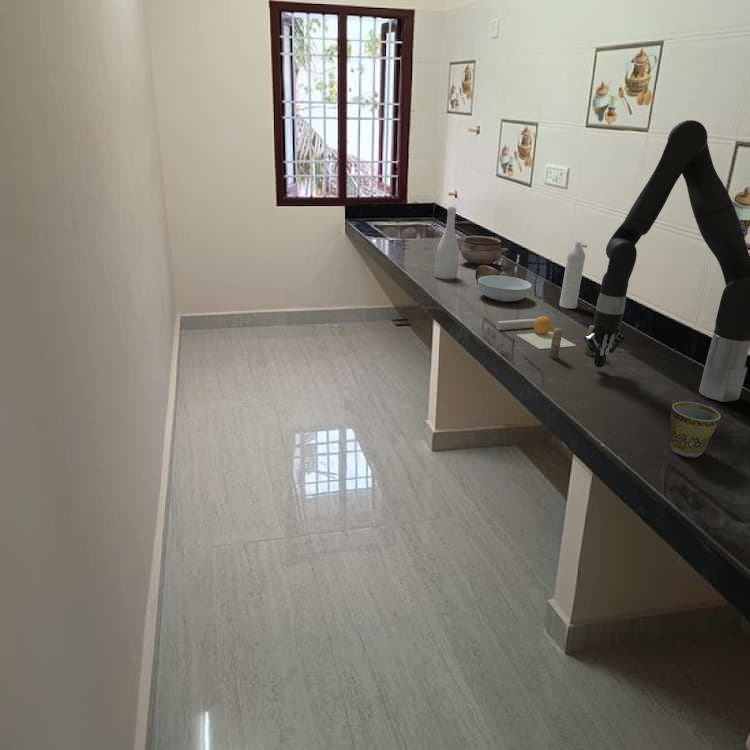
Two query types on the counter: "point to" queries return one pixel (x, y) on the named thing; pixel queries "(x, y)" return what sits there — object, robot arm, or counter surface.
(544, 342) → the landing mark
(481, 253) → the cooking pot
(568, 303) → the white pump bottle
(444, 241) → the wine bottle
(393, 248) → the counter surface
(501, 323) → the wall
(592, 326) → the post right
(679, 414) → the ceramic cup
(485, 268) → the tin
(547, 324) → the ball
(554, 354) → the post left
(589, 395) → the counter surface
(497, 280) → the serving bowl
